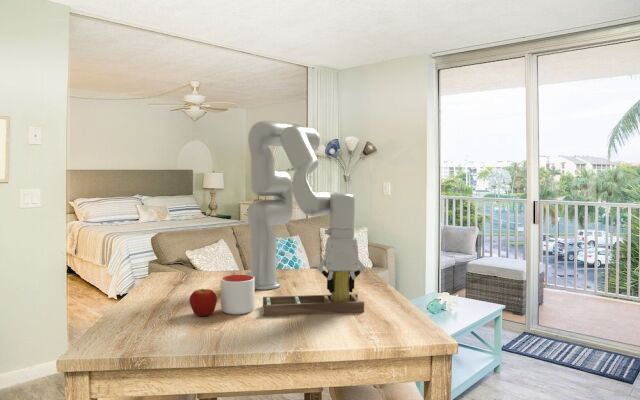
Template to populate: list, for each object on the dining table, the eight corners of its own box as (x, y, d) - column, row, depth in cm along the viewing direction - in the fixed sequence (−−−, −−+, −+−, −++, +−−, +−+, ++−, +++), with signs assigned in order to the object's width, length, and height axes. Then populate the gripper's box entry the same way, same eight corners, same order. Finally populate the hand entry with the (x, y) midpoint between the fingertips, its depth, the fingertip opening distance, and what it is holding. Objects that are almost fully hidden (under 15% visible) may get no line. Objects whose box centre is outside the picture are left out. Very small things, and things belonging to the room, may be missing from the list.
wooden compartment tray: (262, 306, 146) (262, 296, 146) (356, 302, 150) (356, 293, 150) (263, 315, 136) (263, 305, 136) (364, 311, 141) (364, 302, 141)
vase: (348, 309, 141) (349, 262, 140) (328, 307, 143) (329, 261, 142) (351, 303, 147) (352, 258, 146) (332, 301, 149) (333, 257, 148)
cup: (260, 307, 145) (260, 275, 144) (244, 317, 135) (244, 283, 135) (231, 304, 148) (231, 273, 147) (214, 313, 138) (214, 280, 138)
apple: (193, 320, 132) (192, 293, 132) (187, 313, 139) (186, 287, 138) (220, 316, 136) (219, 290, 135) (213, 309, 143) (212, 284, 142)
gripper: (315, 235, 138) (314, 295, 140) (372, 235, 141) (370, 294, 142) (312, 232, 146) (311, 289, 147) (366, 231, 148) (364, 287, 150)
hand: (340, 290), depth 145 cm, fingers closed on vase, 5 cm apart
